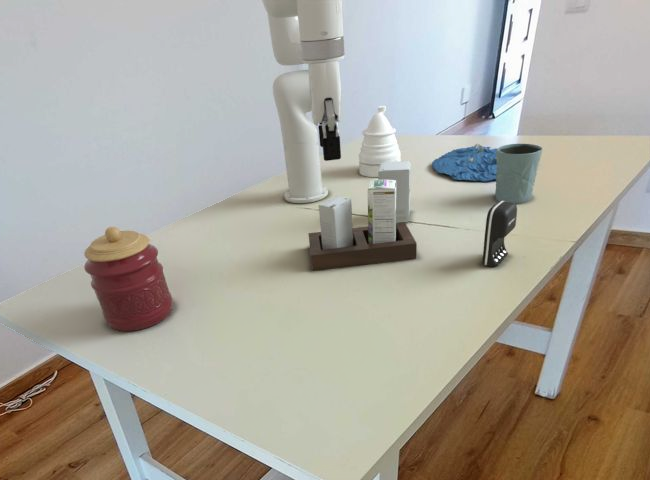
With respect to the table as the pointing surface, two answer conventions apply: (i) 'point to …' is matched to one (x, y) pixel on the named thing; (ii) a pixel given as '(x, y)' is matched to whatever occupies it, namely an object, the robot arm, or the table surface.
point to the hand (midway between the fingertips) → (330, 152)
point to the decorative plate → (469, 163)
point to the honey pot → (378, 145)
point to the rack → (363, 249)
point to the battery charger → (498, 232)
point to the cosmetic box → (336, 223)
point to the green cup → (516, 172)
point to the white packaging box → (398, 185)
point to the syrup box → (381, 211)
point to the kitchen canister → (128, 280)
